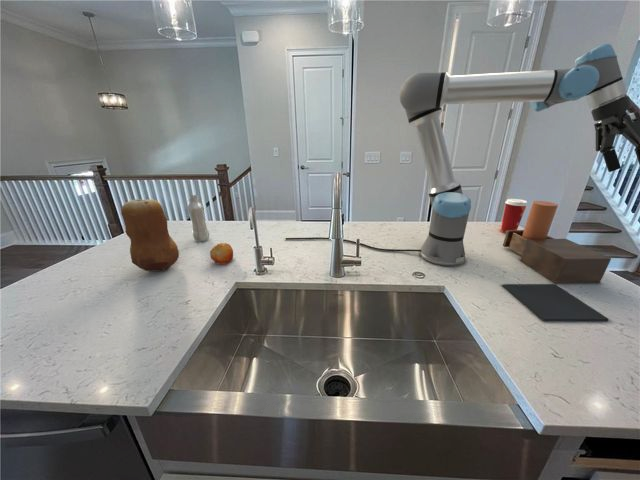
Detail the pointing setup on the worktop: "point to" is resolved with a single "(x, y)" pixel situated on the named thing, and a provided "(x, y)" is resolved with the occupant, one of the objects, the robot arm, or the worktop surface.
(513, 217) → the coffee cup
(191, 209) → the plastic bottle
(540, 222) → the orange tall cylinder
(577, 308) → the mat
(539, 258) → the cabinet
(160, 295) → the worktop surface
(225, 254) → the fruit
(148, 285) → the worktop surface
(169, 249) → the butternut squash
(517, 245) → the drawer
